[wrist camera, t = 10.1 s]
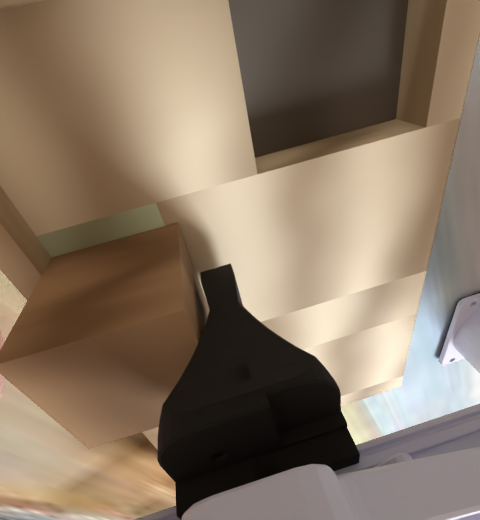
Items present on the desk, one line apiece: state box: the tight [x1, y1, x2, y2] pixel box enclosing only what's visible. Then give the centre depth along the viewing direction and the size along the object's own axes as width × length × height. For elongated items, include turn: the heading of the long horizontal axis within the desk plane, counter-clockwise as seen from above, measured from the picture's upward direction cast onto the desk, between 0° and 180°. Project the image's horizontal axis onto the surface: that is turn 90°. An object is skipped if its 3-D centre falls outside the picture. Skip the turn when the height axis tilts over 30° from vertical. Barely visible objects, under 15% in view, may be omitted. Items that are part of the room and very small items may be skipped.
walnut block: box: [0, 223, 210, 449], centre depth 11 cm, size 5×5×5 cm
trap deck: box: [0, 0, 480, 450], centre depth 16 cm, size 18×27×3 cm, turn 11°
